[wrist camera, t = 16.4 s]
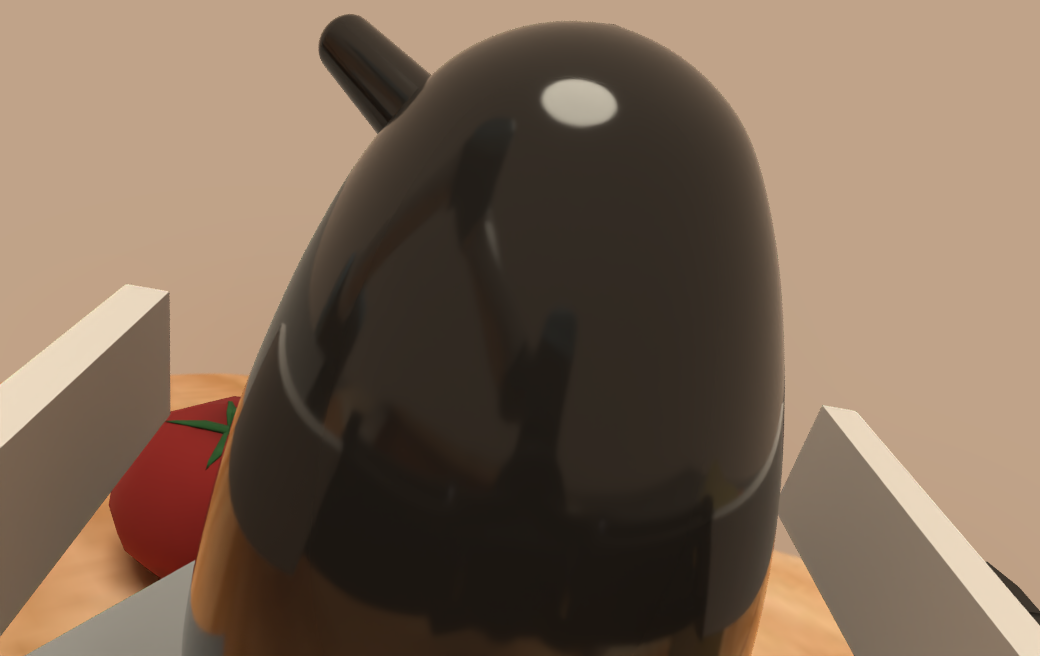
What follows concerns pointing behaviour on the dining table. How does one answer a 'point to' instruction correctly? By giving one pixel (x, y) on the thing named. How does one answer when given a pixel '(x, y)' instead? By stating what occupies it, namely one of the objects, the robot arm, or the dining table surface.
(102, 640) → the slate block
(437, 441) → the pump dispenser
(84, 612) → the dining table surface
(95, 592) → the dining table surface
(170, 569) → the tomato
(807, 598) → the dining table surface
